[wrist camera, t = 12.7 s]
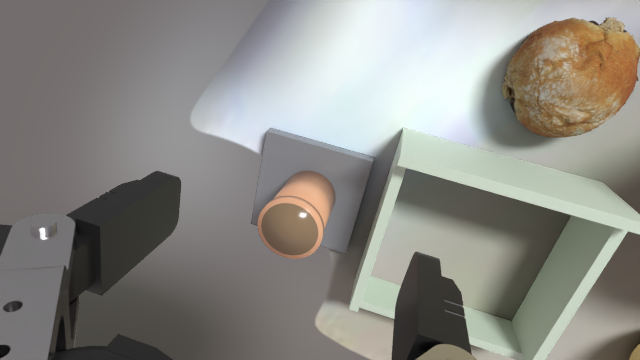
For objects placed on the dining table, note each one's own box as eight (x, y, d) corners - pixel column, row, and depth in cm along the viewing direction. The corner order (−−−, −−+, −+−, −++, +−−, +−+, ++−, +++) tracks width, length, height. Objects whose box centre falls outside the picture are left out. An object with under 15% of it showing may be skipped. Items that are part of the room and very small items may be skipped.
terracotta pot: (288, 161, 43) (263, 190, 36) (343, 178, 43) (329, 211, 35) (277, 210, 46) (252, 246, 39) (329, 227, 45) (313, 267, 38)
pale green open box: (403, 127, 41) (400, 154, 33) (602, 182, 38) (652, 225, 30) (355, 278, 49) (343, 329, 41) (516, 330, 47) (538, 395, 39)
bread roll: (495, 44, 39) (472, 72, 34) (616, -18, 32) (611, 5, 27) (537, 127, 41) (521, 165, 36) (661, 87, 34) (664, 127, 29)
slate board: (271, 127, 44) (266, 131, 43) (374, 157, 43) (373, 161, 41) (255, 218, 49) (250, 223, 48) (347, 247, 48) (345, 253, 46)
